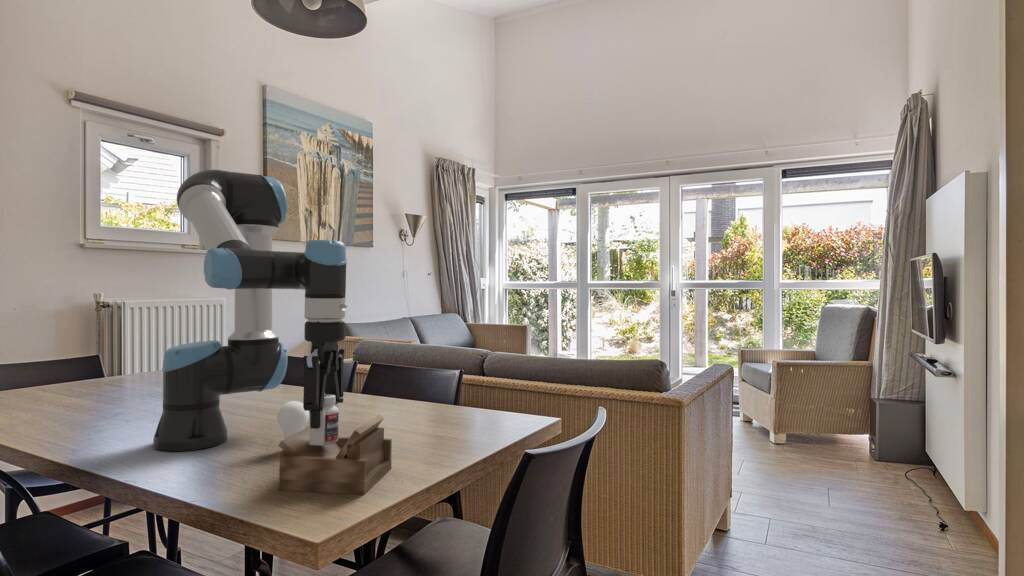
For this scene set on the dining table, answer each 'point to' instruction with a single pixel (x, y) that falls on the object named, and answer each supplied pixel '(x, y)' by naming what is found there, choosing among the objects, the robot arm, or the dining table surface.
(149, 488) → the dining table surface
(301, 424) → the light bulb
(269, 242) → the robot arm
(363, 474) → the wooden box with flaps
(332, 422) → the pill bottle
